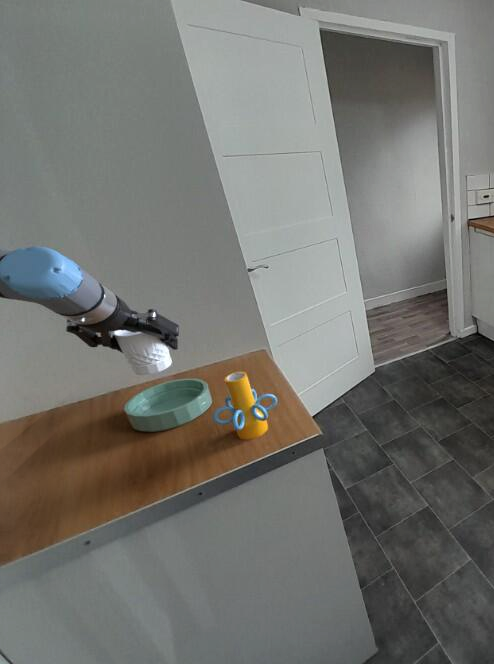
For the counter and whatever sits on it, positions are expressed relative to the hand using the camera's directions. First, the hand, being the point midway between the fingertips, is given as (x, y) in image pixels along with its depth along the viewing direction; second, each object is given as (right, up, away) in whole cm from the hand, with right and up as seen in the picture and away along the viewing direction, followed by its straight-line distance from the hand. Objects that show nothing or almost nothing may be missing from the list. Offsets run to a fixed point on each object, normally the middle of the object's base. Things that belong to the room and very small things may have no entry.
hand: (153, 347), depth 94 cm
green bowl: (+1, -16, +5) cm, 17 cm away
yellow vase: (+24, -20, -1) cm, 31 cm away
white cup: (+1, -5, -1) cm, 5 cm away
